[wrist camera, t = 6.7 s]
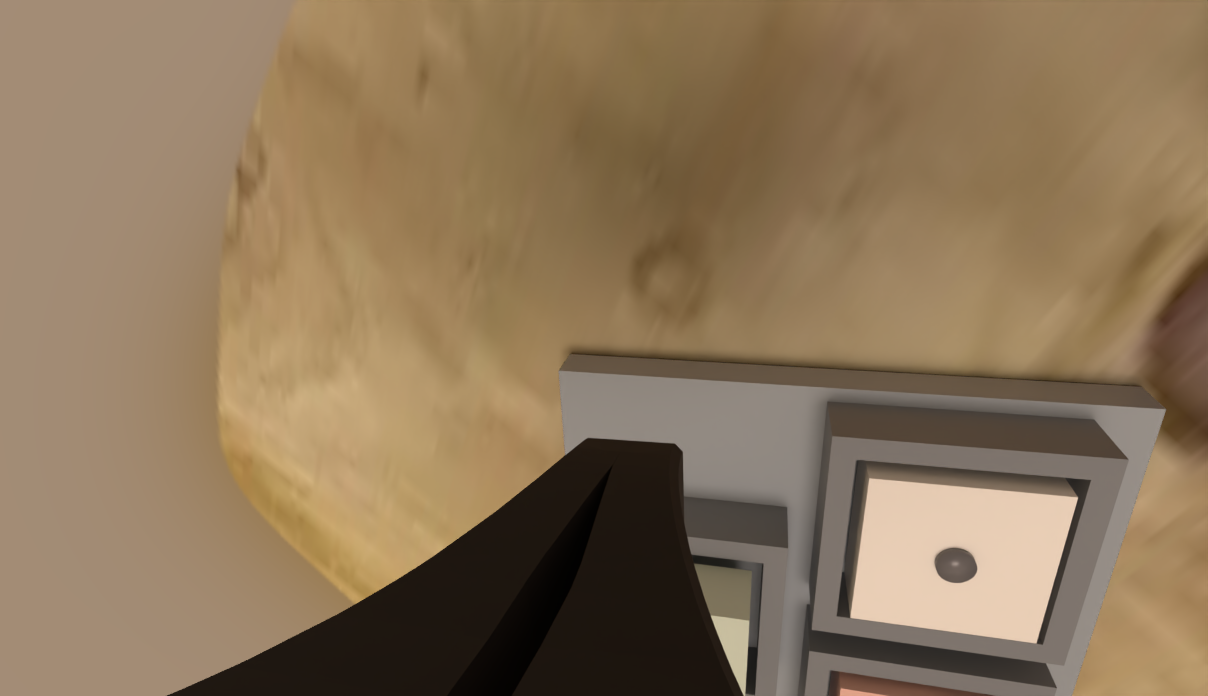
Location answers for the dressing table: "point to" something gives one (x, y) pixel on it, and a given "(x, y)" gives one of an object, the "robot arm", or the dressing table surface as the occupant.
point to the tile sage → (729, 612)
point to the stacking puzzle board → (826, 490)
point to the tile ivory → (955, 548)
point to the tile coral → (885, 687)
